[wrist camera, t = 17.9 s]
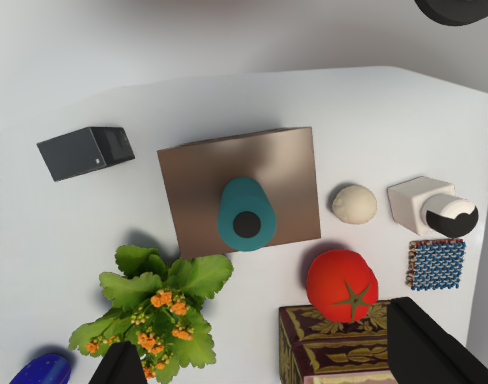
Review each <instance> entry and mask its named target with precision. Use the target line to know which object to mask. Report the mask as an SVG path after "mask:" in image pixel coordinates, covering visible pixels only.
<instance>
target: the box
mask: <svg viewBox="0 0 488 384" xmlns="http://www.w3.org/2000/svg"><path fill="white" fill-rule="evenodd" d="M37 146H38V148H39V151H40V153H41V155H42V157H43V159H44V161H45V163H46V165H47V167H48V169H49V171H50V173H51V176H52V178H53V180H54V181H55V182H58V181H61V180H64V179H68V178H71V177H75V176H78V175H82V174H85V173H89V172H92V171H96V170H100V169H103V168H106V167H110V166H113V165H116V164H119V163H122V162H125V161H128V160H132V159H134V158H135V157H134V154H133V151H132V149H131V146H130V144H129V141H128V139H127V136H126V134H125V131H124V129H123V128H116V127H86V128H83V129H80V130H77V131H74V132H71V133H68V134H65V135H61V136H58V137H55V138H52V139H49V140H46V141H43V142H40V143H37Z"/></svg>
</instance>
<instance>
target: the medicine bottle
mask: <svg viewBox="0 0 488 384" xmlns="http://www.w3.org/2000/svg"><path fill="white" fill-rule="evenodd" d="M387 190H388V195H389V200H390V204H391V209H392V214H393V218H394V221H395V222H397V223H398V224H400V225H402V226H404V227H405V228H407V229H409V230H411V231H412V232H414V233H416V234H418V235H422V234H425V233H428V232H431V231H434V230H435V231H437V232H439V233H441V234H443V235H445V236H447V237H450V238H458V237H461V236H464V235H466V234H468V233H469V232H470V231H472V230H473V228H474V227H475V226H476V224H477V221H478V210H477V208H476V206H475V205H474V204H473V203H472V202H471V201H468V200H465V199H462V198H459V197H456V195H455V188H454V184H452V183H448V182H444V181H440V180H436V179H432V178H428V177H424V176H423V177H419V178H416V179H413V180H411V181H408V182H405V183H402V184H399V185H396V186H393V187H390V188H388V189H387Z"/></svg>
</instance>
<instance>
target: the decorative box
mask: <svg viewBox="0 0 488 384" xmlns="http://www.w3.org/2000/svg"><path fill="white" fill-rule="evenodd" d="M387 304H390V301H376V302H375V303H374V304H373V306H369V309H368V312H367V315H366V316H365V317H363V318H362V319H360V320H359V321H353V323H352V322H348V323H343V322H333V321H330V320H328V319H326V318H324V316H323V315H322V314H321V313H320V311H319V310H318V309H316V308H315V307H314V306H313V305H310V306H294V307H282V308H280V309H279V335H280V380H281V383H282V384H398V383H397V381H396V380H395V378H394V377H393V375H392V373H391V371H390V369H389V366H388V361H387V313H386V306H387Z"/></svg>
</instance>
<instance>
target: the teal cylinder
mask: <svg viewBox="0 0 488 384" xmlns="http://www.w3.org/2000/svg"><path fill="white" fill-rule="evenodd" d="M276 224H277V222H276V216H275V213H274V211H273V209H272V207H271V205H270V203H269V200H268V198H267V196H266V194H265V192H264V190H263V188H262V187H261V185H260V184H259V183H258V182H257V181H256V180H254V179H252V178H249V177H238V178H235V179H233V180H231V181H230V182H229V183H228V184H227V185H226V186H225V188H224V190H223V193H222V198H221V203H220V209H219V214H218V220H217V228H218V232H219V235H220V237H221V238H222V240H223V241H224V242H225V243H226V244H227V245H228V246H230V247H231V248H233V249H236V250H239V251H254V250H257V249H260V248H262V247H263V246H265V245H266V244H267V243H268V242H269V241H270V240H271V239H272V237H273V235H274V233H275V230H276Z"/></svg>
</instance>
